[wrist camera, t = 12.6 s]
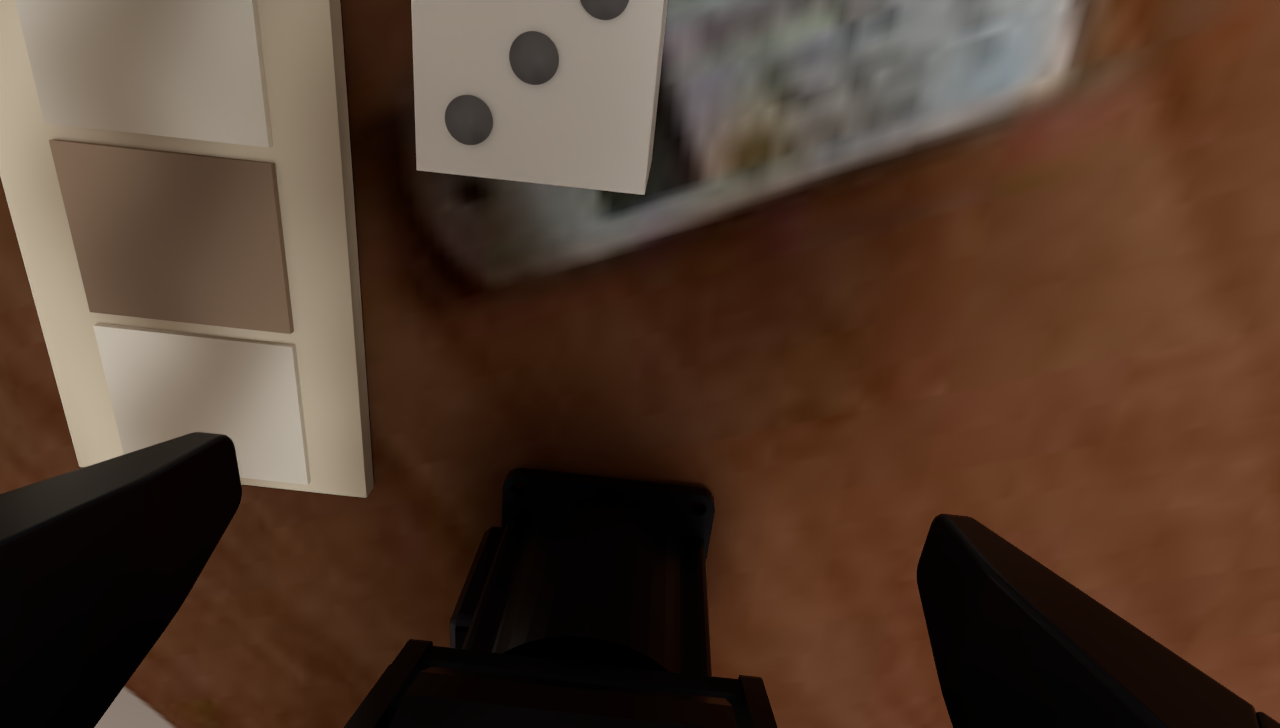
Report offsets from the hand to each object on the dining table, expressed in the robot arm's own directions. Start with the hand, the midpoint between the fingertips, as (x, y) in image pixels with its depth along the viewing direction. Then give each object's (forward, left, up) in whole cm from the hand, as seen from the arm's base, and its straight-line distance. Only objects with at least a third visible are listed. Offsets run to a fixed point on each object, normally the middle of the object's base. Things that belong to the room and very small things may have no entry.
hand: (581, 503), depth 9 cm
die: (+2, -5, -11) cm, 12 cm away
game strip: (+12, -2, -11) cm, 16 cm away
